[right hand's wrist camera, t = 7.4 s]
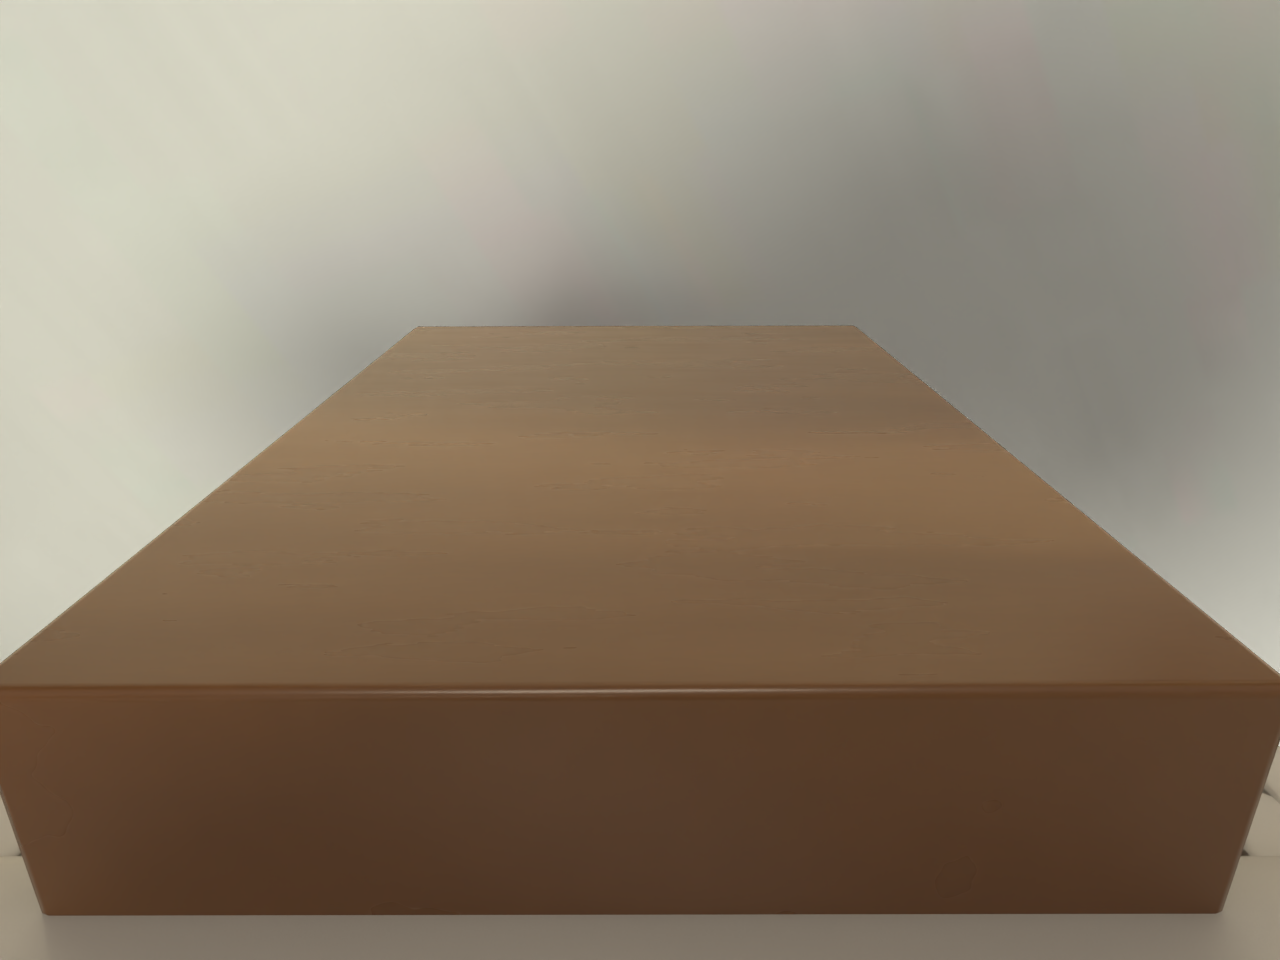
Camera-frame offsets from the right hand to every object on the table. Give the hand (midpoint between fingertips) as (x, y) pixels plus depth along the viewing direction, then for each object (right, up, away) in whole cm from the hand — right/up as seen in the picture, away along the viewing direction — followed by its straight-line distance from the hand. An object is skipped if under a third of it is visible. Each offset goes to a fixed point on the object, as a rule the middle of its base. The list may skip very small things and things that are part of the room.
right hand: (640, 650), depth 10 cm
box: (0, -9, +7) cm, 11 cm away
